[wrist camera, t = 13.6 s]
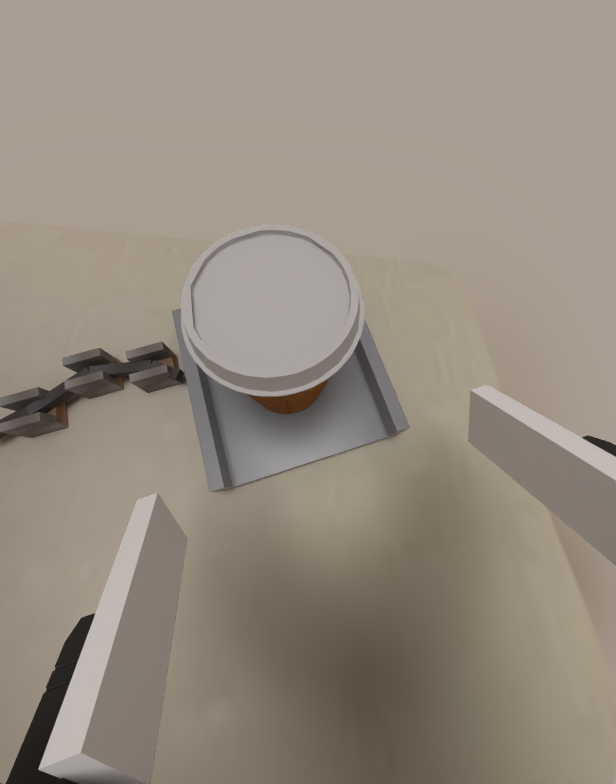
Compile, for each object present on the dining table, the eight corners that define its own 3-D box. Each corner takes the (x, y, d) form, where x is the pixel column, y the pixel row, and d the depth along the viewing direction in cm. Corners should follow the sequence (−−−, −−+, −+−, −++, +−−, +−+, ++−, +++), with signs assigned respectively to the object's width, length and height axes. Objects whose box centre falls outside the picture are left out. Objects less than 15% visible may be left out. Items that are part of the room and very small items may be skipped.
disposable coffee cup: (257, 316, 28) (220, 197, 16) (356, 348, 27) (391, 245, 15) (213, 411, 25) (133, 349, 14) (321, 450, 24) (333, 418, 13)
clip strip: (-1, 447, 25) (-37, 443, 23) (-2, 394, 27) (-36, 384, 24) (192, 390, 27) (179, 380, 24) (182, 343, 28) (169, 328, 25)
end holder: (223, 490, 24) (209, 492, 21) (187, 331, 28) (171, 311, 25) (396, 434, 26) (409, 427, 22) (338, 290, 30) (342, 265, 26)
